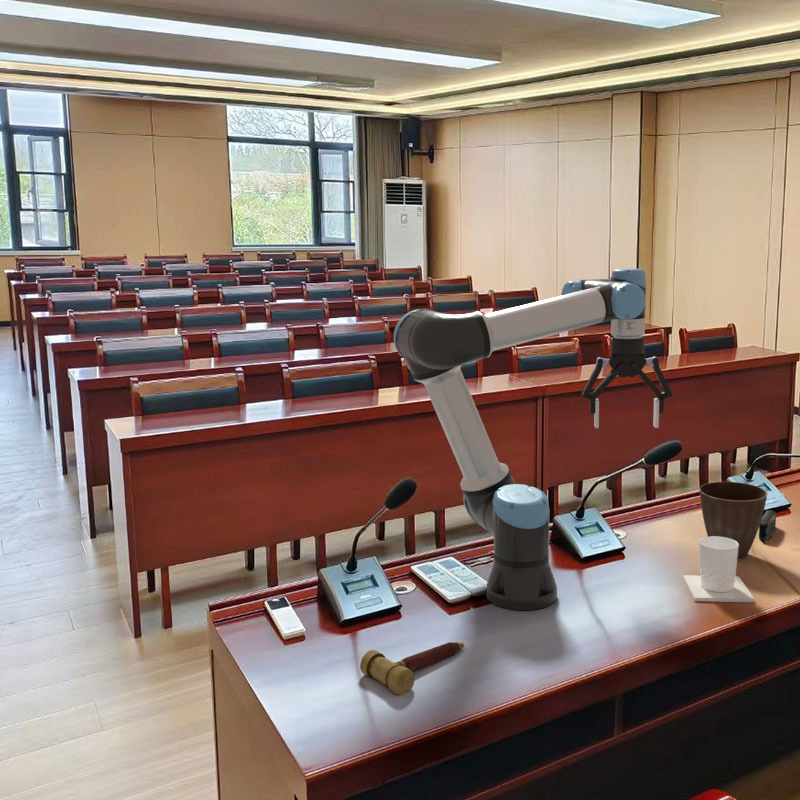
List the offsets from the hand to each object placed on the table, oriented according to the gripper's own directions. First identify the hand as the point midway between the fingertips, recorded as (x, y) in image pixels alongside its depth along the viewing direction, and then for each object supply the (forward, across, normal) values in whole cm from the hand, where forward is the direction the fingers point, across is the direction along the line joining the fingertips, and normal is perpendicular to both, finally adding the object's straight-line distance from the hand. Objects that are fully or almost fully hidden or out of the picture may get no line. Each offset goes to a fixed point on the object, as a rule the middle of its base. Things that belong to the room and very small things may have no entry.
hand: (626, 426), depth 200 cm
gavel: (+32, -44, -57) cm, 79 cm away
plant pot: (+32, +25, +1) cm, 41 cm away
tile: (+32, +17, -20) cm, 41 cm away
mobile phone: (+32, +38, +16) cm, 52 cm away
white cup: (+31, +17, -20) cm, 41 cm away
